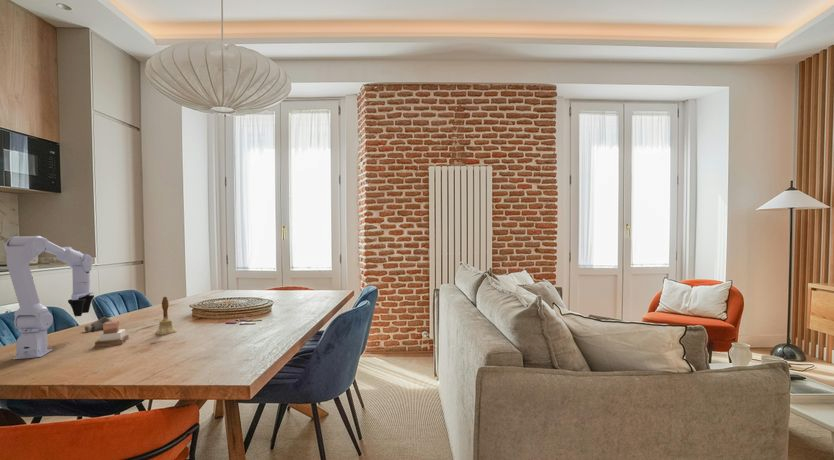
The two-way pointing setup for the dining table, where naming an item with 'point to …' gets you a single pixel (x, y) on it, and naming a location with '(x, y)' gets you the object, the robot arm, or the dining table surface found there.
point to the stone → (97, 324)
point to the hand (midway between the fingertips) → (81, 314)
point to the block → (110, 327)
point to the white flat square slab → (112, 335)
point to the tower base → (111, 342)
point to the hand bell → (165, 321)
